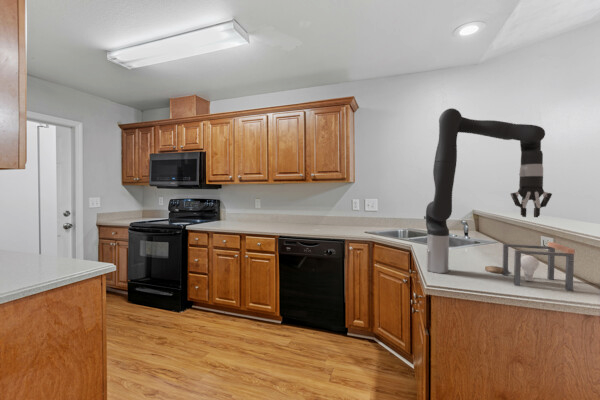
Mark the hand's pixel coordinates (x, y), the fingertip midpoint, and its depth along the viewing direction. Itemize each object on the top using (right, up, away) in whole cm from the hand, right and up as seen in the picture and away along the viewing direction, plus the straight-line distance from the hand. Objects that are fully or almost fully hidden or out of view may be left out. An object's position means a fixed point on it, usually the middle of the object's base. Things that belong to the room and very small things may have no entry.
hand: (530, 216), depth 116 cm
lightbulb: (0, -27, +1) cm, 27 cm away
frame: (+2, -27, 0) cm, 27 cm away
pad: (-3, -27, +16) cm, 31 cm away
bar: (+9, -13, -3) cm, 16 cm away
